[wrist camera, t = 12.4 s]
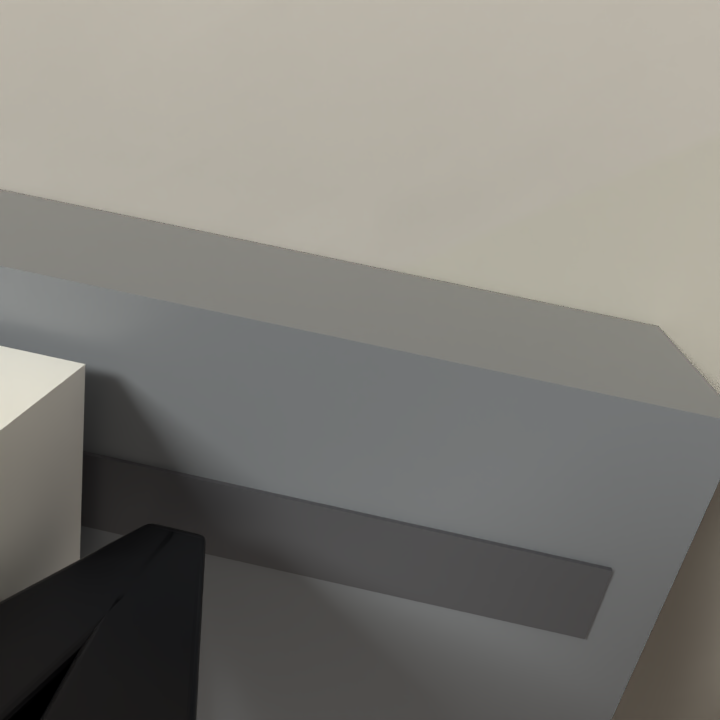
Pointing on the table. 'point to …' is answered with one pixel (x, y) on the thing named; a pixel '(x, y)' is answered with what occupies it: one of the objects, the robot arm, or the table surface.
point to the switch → (39, 466)
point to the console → (371, 466)
